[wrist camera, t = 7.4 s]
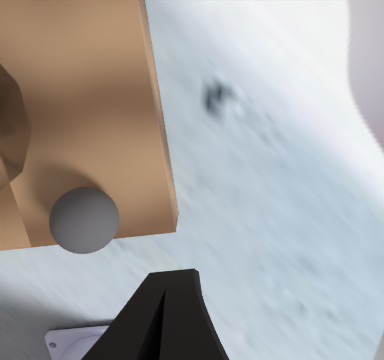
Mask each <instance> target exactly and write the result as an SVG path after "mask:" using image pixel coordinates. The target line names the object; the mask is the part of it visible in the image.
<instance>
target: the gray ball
mask: <svg viewBox="0 0 384 360" xmlns="http://www.w3.org/2000/svg"><path fill="white" fill-rule="evenodd" d="M118 226H119V212H118V209H117V206H116V204H115V202H114V201H113V200H112V198H111V197H110V196H109V195H107V194H106V193H105V192H103V191H101V190H99V189H96V188H92V187H80V188H75V189H72V190H70V191H68V192H66V193H65V194H63V195H62V196H61V197H60V198H59V199H58V200H57V201H56V202H55V204H54V205H53V207H52V209H51V212H50V216H49V228H50V232H51V234H52V236H53V238H54V240H55V241H56V242H57V243H58V244H59V245H60V246H61V247H62V248H64V249H65V250H67V251H70V252H73V253H78V254H87V253H92V252H96V251H98V250H100V249H102V248H103V247H105V246H106V245H107V244H108V243H109V242H110V241H111V240H112V239H113V237H114V236H115V234H116V232H117V229H118Z"/></svg>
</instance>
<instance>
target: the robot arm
mask: <svg viewBox="0 0 384 360" xmlns="http://www.w3.org/2000/svg"><path fill="white" fill-rule="evenodd" d="M44 340H45V343H46V345H47V348H48V351H49V354H50V356H51V359H52V360H229V358H228V356H227V354H226V352H225V350H224V348H223V346H222V344H221V342H220V340H219V337H218V335H217V333H216V331H215V328H214V326H213V324H212V321H211V319H210V316H209V314H208V311H207V309H206V306H205V303H204V300H203V296H202V291H201V284H200V277H199V272H198V271H197V270H195V269H185V270H175V271H164V272H154V273H149V275H148V276H147V277H146V278H145V279H144V281H143V282H142V283H141V285H140V286H139V288H138V289H137V290H136V292H135V293H134V294H133V296H132V297H131V298H130V300H129V301H128V302H127V304H126V305H125V306H124V308H123V309H122V310H121V311H120V313H119V314H118V315H117V317H116V318H115V319H114V320H113V322H112V323H111V324H110V325H109V326H98V327H87V328H75V329H63V330H52V331H48V332H47V334H46V335H45V337H44Z"/></svg>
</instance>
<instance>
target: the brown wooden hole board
mask: <svg viewBox="0 0 384 360" xmlns="http://www.w3.org/2000/svg"><path fill="white" fill-rule="evenodd" d="M80 187H92V188H96V189H99V190H101V191H103V192H105V193H106V194H107V195H109V196H110V197H111V198H112V200H113V201H114V202H115V204H116V206H117V209H118V212H119V226H118V229H117V232H116V234H115V236H114V237H113V239H116V238H125V237H135V236H144V235H154V234H163V233H172V232H176V226H177V220H178V214H179V212H178V206H177V200H176V193H175V187H174V181H173V175H172V168H171V162H170V156H169V149H168V143H167V137H166V131H165V124H164V118H163V112H162V105H161V99H160V93H159V87H158V80H157V74H156V68H155V61H154V55H153V49H152V43H151V36H150V30H149V24H148V17H147V11H146V5H145V0H0V251H2V250H11V249H21V248H30V247H40V246H49V245H59V244H58V243H57V242H56V241H55V240H54V238H53V236H52V234H51V232H50V228H49V216H50V212H51V209H52V207H53V205H54V204H55V202H56V201H57V200H58V199H59V198H60V197H61V196H62V195H63V194H65V193H66V192H68V191H70V190H72V189H75V188H80Z"/></svg>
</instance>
